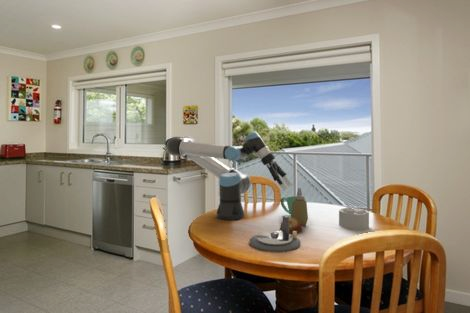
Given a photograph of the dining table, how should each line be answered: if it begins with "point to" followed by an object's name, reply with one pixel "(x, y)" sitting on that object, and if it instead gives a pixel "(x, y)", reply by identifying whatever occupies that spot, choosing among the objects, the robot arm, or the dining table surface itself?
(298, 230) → the bread roll
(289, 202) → the mug
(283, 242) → the flange plate
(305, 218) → the squeeze bottle
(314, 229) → the dining table surface
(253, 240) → the base pad
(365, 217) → the lumpy-topped squat cylinder
